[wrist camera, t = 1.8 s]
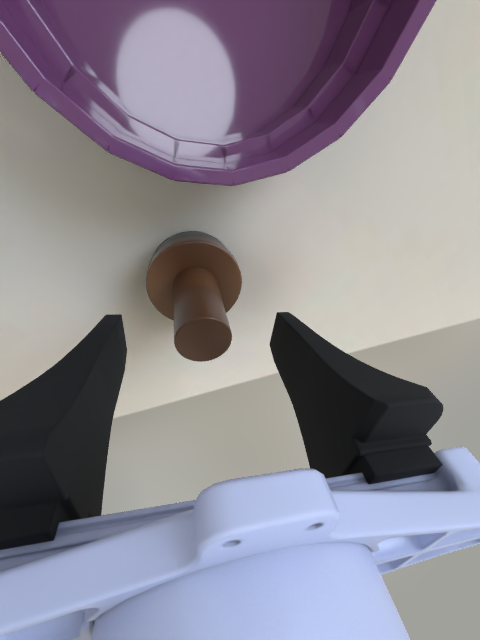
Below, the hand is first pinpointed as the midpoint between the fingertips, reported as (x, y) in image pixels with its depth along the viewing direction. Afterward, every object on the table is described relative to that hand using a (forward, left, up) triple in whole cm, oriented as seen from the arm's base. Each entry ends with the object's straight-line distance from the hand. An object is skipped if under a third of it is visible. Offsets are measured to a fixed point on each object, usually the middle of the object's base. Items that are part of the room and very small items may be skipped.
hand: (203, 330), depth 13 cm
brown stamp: (0, 0, -6) cm, 6 cm away
